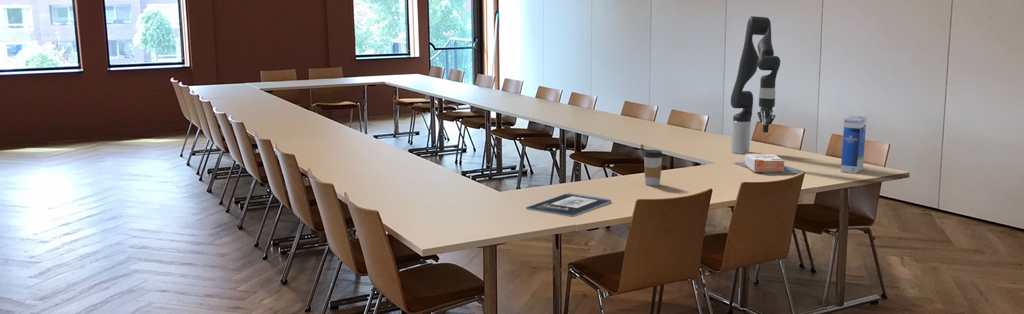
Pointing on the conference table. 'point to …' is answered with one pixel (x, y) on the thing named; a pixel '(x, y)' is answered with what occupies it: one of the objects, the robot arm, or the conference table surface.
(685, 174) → the conference table surface
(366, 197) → the conference table surface
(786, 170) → the mat
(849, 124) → the blue cardboard box
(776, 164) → the cracker box
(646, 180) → the coffee cup
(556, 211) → the sketchbook
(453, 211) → the conference table surface
